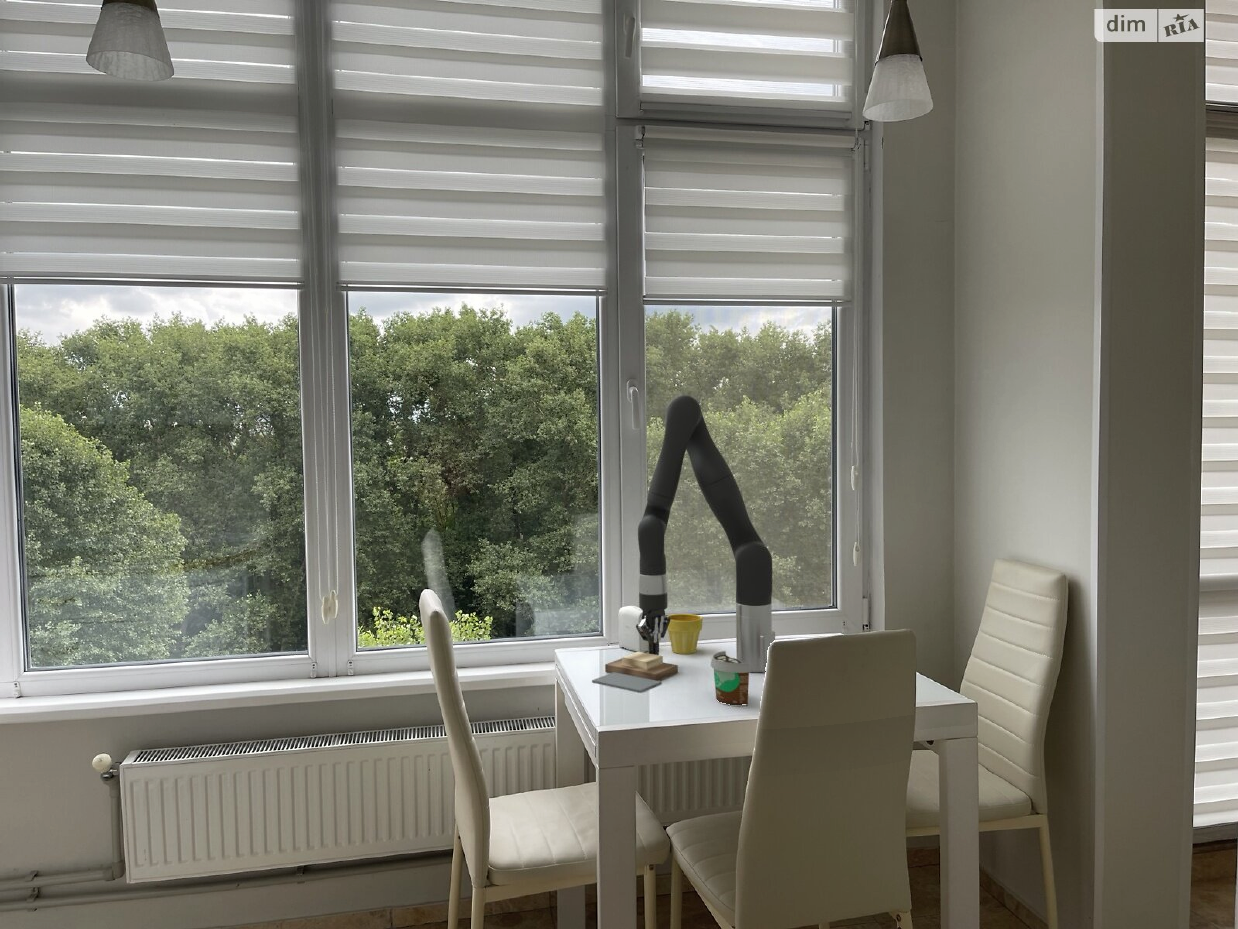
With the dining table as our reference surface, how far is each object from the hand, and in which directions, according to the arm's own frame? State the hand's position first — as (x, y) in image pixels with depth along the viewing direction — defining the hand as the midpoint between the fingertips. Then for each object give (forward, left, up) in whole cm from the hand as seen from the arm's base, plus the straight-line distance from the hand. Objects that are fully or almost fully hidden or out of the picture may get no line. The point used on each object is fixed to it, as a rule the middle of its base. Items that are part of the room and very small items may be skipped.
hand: (654, 655), depth 227 cm
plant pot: (+2, -18, -3) cm, 19 cm away
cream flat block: (0, +5, -1) cm, 5 cm away
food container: (-30, +14, -3) cm, 33 cm away
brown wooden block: (0, +6, -3) cm, 7 cm away
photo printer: (+16, -12, -3) cm, 20 cm away
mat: (-3, +15, -3) cm, 16 cm away
